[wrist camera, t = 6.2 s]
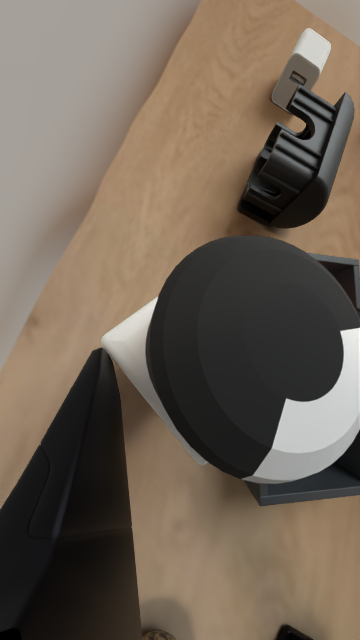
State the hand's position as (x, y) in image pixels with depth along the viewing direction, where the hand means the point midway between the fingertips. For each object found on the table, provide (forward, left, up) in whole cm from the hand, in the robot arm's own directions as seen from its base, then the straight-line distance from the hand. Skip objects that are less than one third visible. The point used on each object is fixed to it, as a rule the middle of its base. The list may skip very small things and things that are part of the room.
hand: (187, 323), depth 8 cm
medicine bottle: (-1, -2, -7) cm, 8 cm away
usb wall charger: (+36, +5, -10) cm, 38 cm away
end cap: (+21, -1, -10) cm, 23 cm away
